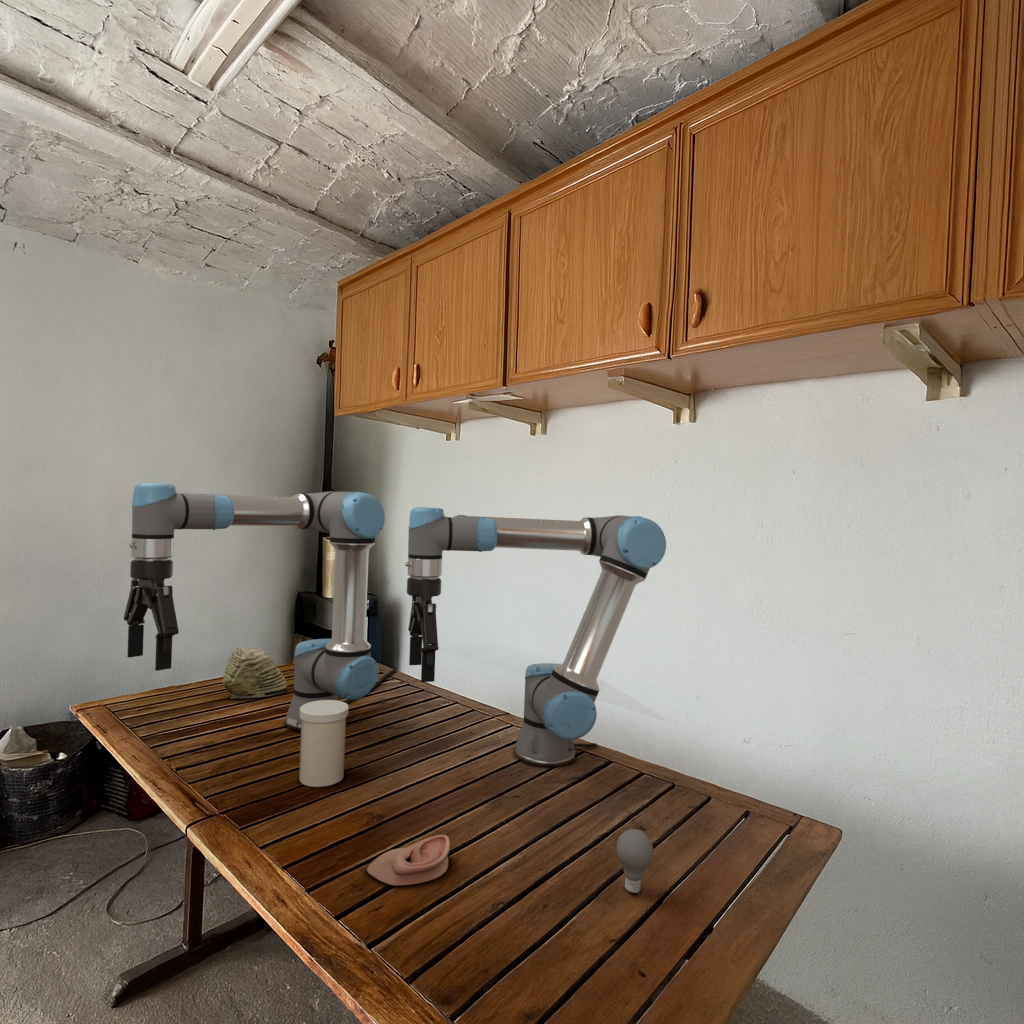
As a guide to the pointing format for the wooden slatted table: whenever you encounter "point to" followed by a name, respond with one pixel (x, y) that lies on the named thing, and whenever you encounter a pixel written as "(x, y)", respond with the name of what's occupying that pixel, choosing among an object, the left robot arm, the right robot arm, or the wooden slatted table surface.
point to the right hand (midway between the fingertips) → (421, 672)
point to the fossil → (252, 674)
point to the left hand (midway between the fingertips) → (148, 662)
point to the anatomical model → (412, 862)
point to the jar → (322, 753)
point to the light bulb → (634, 857)
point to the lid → (323, 711)
